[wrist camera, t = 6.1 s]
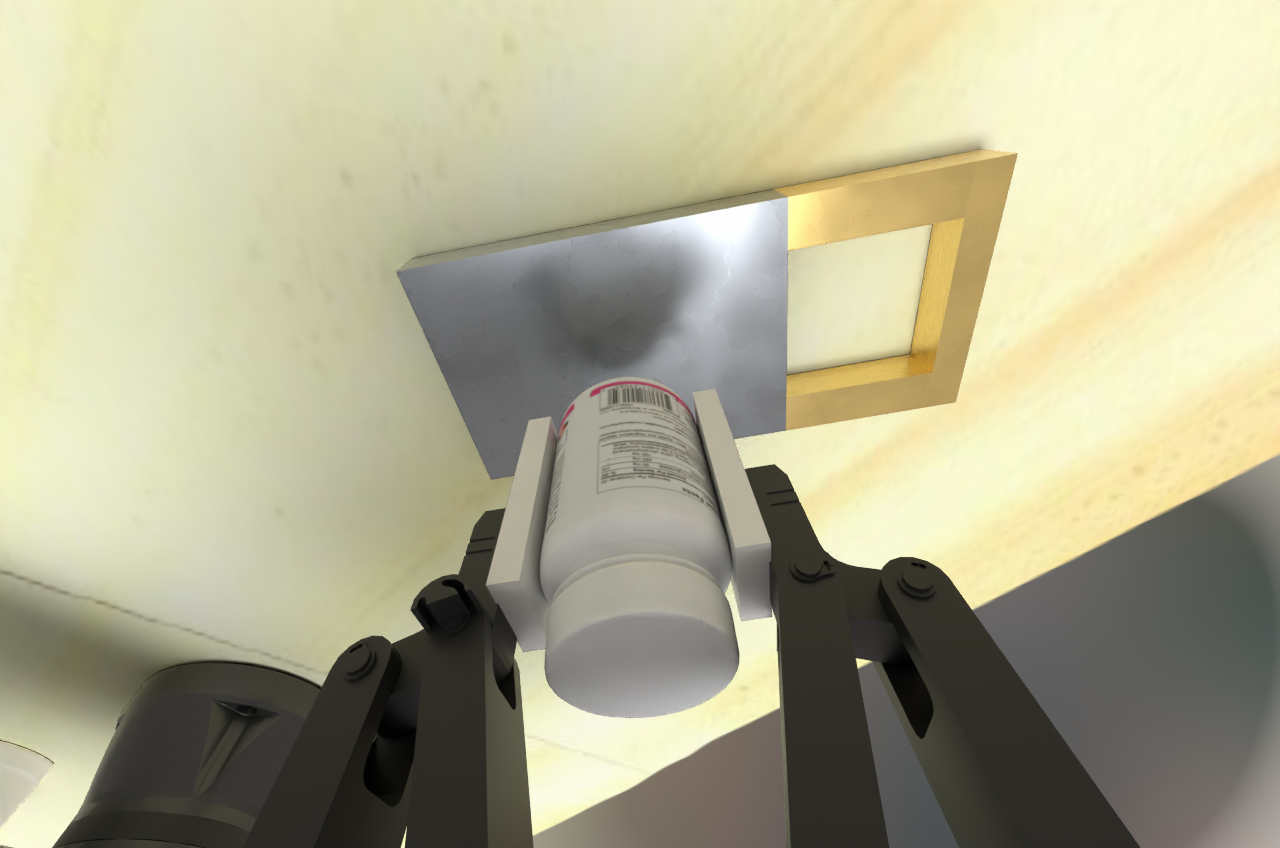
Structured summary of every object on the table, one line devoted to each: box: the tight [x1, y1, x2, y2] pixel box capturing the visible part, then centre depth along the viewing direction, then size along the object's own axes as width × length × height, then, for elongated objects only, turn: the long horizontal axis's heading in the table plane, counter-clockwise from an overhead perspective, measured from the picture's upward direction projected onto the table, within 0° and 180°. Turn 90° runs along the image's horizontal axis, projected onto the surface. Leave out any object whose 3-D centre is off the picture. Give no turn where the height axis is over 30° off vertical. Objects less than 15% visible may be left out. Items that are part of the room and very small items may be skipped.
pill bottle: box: [540, 377, 739, 718], centre depth 13 cm, size 5×5×8 cm
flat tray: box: [396, 149, 1018, 480], centre depth 22 cm, size 24×11×2 cm, turn 99°
